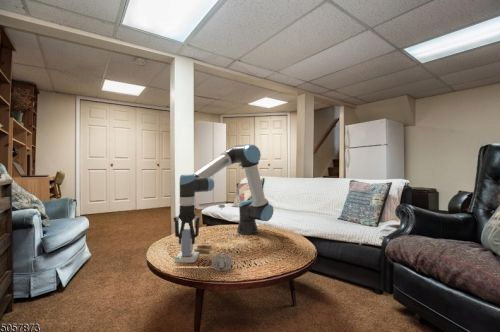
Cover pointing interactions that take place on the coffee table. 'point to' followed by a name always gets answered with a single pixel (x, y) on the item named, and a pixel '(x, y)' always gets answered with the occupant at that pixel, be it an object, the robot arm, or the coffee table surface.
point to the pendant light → (221, 258)
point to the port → (186, 259)
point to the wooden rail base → (203, 249)
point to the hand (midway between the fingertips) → (186, 250)
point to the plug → (186, 242)
